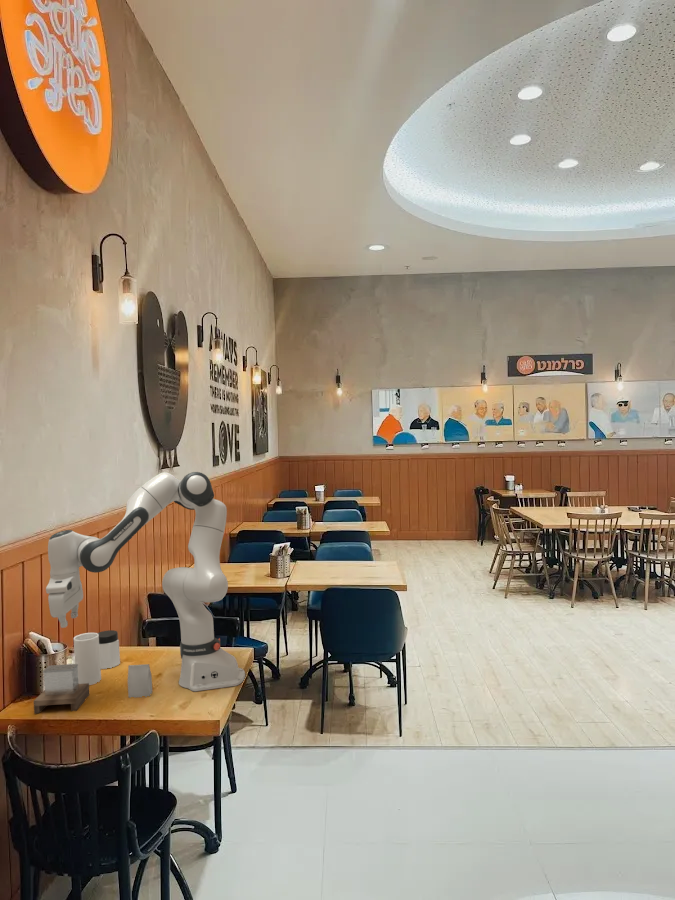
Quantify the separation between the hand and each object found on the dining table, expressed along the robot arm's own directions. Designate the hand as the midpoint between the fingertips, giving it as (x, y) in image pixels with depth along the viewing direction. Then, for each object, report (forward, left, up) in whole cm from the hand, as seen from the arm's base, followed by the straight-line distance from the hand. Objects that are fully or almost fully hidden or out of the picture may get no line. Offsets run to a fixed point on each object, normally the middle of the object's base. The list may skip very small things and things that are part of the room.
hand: (69, 622), depth 210 cm
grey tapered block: (-22, 0, -26) cm, 34 cm away
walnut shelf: (+2, +4, -26) cm, 26 cm away
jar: (-2, -30, -26) cm, 39 cm away
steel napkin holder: (+2, +4, -22) cm, 22 cm away
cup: (0, -15, -26) cm, 30 cm away
